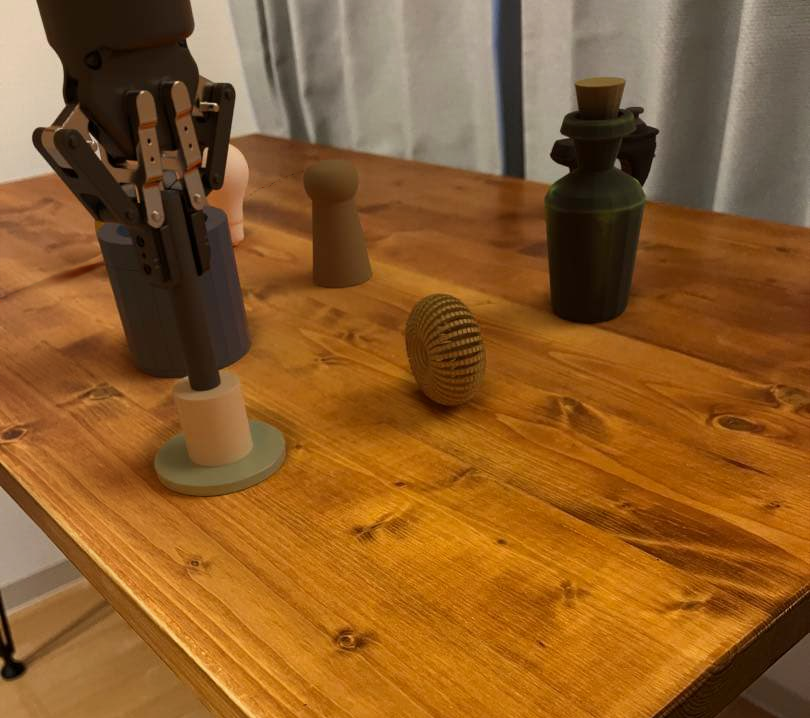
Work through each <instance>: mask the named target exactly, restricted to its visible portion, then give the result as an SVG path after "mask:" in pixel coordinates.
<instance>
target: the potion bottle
mask: <svg viewBox="0 0 810 718" xmlns="http://www.w3.org/2000/svg"><path fill="white" fill-rule="evenodd" d="M626 82H627V80H626V78H623V77H617V76H597V77H587V78H583V79H579V80H576V81H575V82H574V88H575V97H576V103H577V109H578V110H574V111H571V112H568V113H566V114H565V115H564V116H563V118H562V119H563V120H562V123H561V126H560V129H559V132H560V134H561V136H564V137H567V138H571V139H573V144H574V149H575V154H576V158H577V163H578V168H576V169H574V170H573V171H571V172H570V171H569V172H568V173H567V174H565V175H564V176H562V177H560V178H558V179H557V180H556V181H554V182H553V183H552V184H551V185H550V187H549V189H548V191H547V192H546V195H545V196H544V198H543V201H544V202H543V203H544V215H545V231H546V246H547V261H548V271H549V272H548V275H549V289H550V304H551V308H552V311H553V312H554V313H555V314H556V315H557V316H559V317H561V318H562V319H564V320H568V321H572V322H580V323H599V322H605V321H609V320H614V319H615V318H618V317H619V316H621V315H622V314H623V313H624V312H625V311H626V309H627V307H628V306H629V299H630V295H631V287H632V282H633V275H634V270H635V264H636V258H637V253H638V247H639V240H640V234H641V228H642V223H643V217H644V210H645V204H646V199H647V195H646V194H645V191H644V189H643V187H641V184H640V183H639V182H638V181H637V180H636V179H635V178H633V177H632V176H630V175H628V174H627V173H625V172H623V171H622V170H621V168H618V167H617V166H615V163H616V160H617V159H616V157H617V154H618V151H619V147H620V144H621V141H622V137H624V136H626V135H628V134H630V133H632V132H634V131H635V130H636V129H637V128H636V123H635V119H634V115H633V113H632V112H631V111H629V110H625V109H626V108H620V107H621V103H622V99H623V95H624V91H625V86H626Z"/></svg>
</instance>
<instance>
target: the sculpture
mask: <svg viewBox="0 0 810 718" xmlns="http://www.w3.org/2000/svg"><path fill="white" fill-rule="evenodd" d="M447 341H448V342H447ZM483 341H484V338H483V335H482V331H481V328H480V325H479V323H478V322H477V319H476V317H475V316H474V314H473V313H472V311H471V310H470V308H469V307H468V306H467V305H466V304H465V303H464V302H463V301H462V300H461V299H459V298H457V297H455V296H454V295H451V294H447V293H440V292H439V293H433V294H429V295H426V296H424V297H422V298H421V299H420V300H419V301H417V302H416V303H415V305H413V307H412V308H411V310H410V312H409V314H408V317H407V320H406V324H405V332H404V342H405V352H406V356H407V359H408V365H409V367H410V370H411V373H412V376H413V377H414V380H415V382H416V383H417V385H418V387H419V388H420V389H421V392H422V393H424V395H425V396H426V397H427V398H429V399H430V400H431V401H432V402H434V403H437V404H439V405H442V406H452V407H453V406H457V405H458V406H459V405H462V404H465V403H467V402H468V401H469V400H471V399H472V398H473V397H475V395H476V394H477V392H479V390H480V388H481V386H482V384H483V381H484V377H485V374H486V365H487V364H486V363H487V358H486V349H485V342H483Z"/></svg>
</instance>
